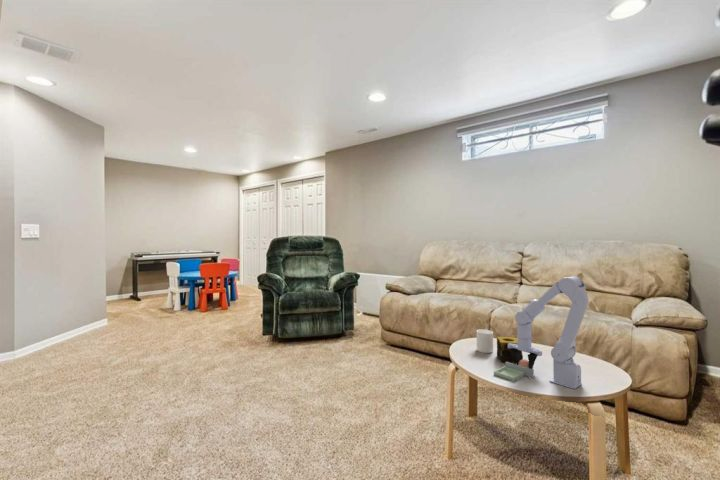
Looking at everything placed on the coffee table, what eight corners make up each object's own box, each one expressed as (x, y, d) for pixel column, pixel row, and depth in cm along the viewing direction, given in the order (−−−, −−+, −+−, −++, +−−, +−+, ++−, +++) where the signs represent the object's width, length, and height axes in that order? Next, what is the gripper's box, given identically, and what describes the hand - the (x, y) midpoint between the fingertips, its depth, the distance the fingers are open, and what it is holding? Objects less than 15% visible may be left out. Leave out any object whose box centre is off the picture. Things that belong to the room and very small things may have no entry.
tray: (524, 375, 147) (524, 372, 147) (514, 381, 141) (514, 377, 141) (504, 369, 154) (504, 366, 154) (493, 374, 148) (493, 371, 148)
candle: (523, 364, 160) (523, 343, 160) (500, 363, 162) (500, 342, 162) (517, 357, 170) (517, 337, 170) (496, 355, 172) (496, 336, 172)
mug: (485, 345, 188) (485, 327, 188) (499, 349, 181) (499, 330, 181) (473, 350, 180) (473, 331, 180) (488, 354, 174) (488, 334, 173)
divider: (534, 377, 145) (534, 369, 145) (531, 378, 144) (531, 370, 144) (507, 368, 154) (507, 361, 154) (504, 370, 153) (504, 362, 153)
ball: (532, 371, 152) (532, 359, 152) (527, 373, 149) (527, 362, 149) (521, 367, 156) (521, 356, 156) (516, 370, 153) (516, 359, 153)
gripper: (545, 339, 149) (545, 370, 149) (512, 332, 160) (512, 361, 160) (538, 342, 145) (538, 374, 145) (505, 335, 156) (505, 364, 156)
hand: (524, 367), depth 152 cm, fingers closed on ball, 5 cm apart
